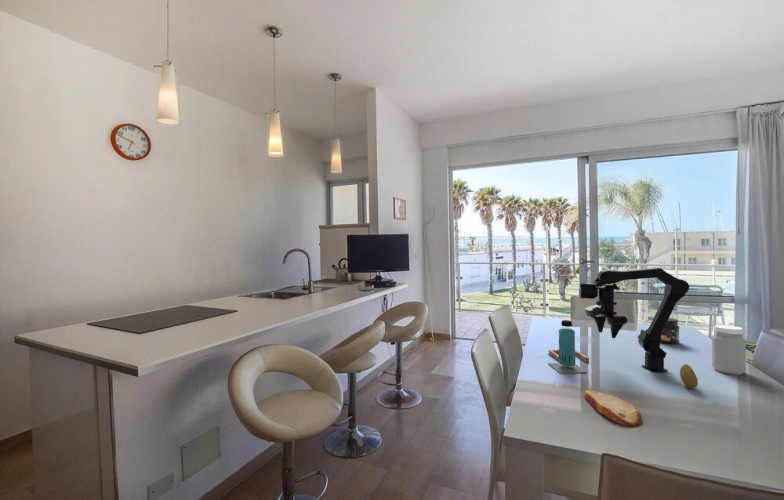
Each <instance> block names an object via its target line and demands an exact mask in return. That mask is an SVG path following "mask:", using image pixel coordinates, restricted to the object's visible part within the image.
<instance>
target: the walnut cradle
mask: <svg viewBox="0 0 784 500" xmlns="http://www.w3.org/2000/svg"><path fill="white" fill-rule="evenodd" d="M547 350H548V355H549V356H551V358H554V359H555V360H556V361H557V362H559V349H547ZM575 357H577V358H579V359H580V360H582V361H583V362H584V363H590V358H589V357H588V356H586V355H584V353H583V354H582V353H581V352H580V351H578V350H576V349H575Z"/></svg>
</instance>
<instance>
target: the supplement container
mask: <svg viewBox="0 0 784 500" xmlns="http://www.w3.org/2000/svg"><path fill="white" fill-rule="evenodd" d="M679 343H680V326H679V319H677V318H672V317H669V319H668V321H667V323H666V325H665V327H664V329H663V331H662V333H661V344H664V345H677V344H679Z"/></svg>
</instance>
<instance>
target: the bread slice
mask: <svg viewBox="0 0 784 500" xmlns="http://www.w3.org/2000/svg"><path fill="white" fill-rule="evenodd" d="M582 397H583V398H584V399H585V401H586V402H587V403H588V404H589V405H590V406H591V407H592V408H593V409H594V410H596V412H598V413H600V414H601V415H602V416H605V418H607V419H609V420H611V421H613V422H614V423H616V424H618V425H621V426H622V427H623V426H625V427H626V428H627V427H628V428H637V427H640V426H641V424H642V419H643V418H642V417H643V416H642V415H641V413H640V411H639V409H637V407H635V405H633V404H632V403H629V402H628V401H626V400H624V399H620V398H618V397H616V396H613V395H612V394H611V395H610V394H607V393H604V392H601V391H596V390H590V389H589V390H588V389H587V390H585V391H584V393H583V395H582Z"/></svg>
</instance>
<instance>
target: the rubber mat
mask: <svg viewBox="0 0 784 500" xmlns="http://www.w3.org/2000/svg"><path fill="white" fill-rule="evenodd" d="M547 365H548V366H549V367H551V368H552V369H553V370H554V371H556V372H557V373H558V374H560V375H561V374H562V375H563V374H567V375H568V374H570V375H571V374H587V373H588V372H587V370H585V369H584V368H582V367H580V366H579V365H577V364H575V366H564V365H561V364H560V363H559V362H551V363H550V362H549V363H547Z"/></svg>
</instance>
